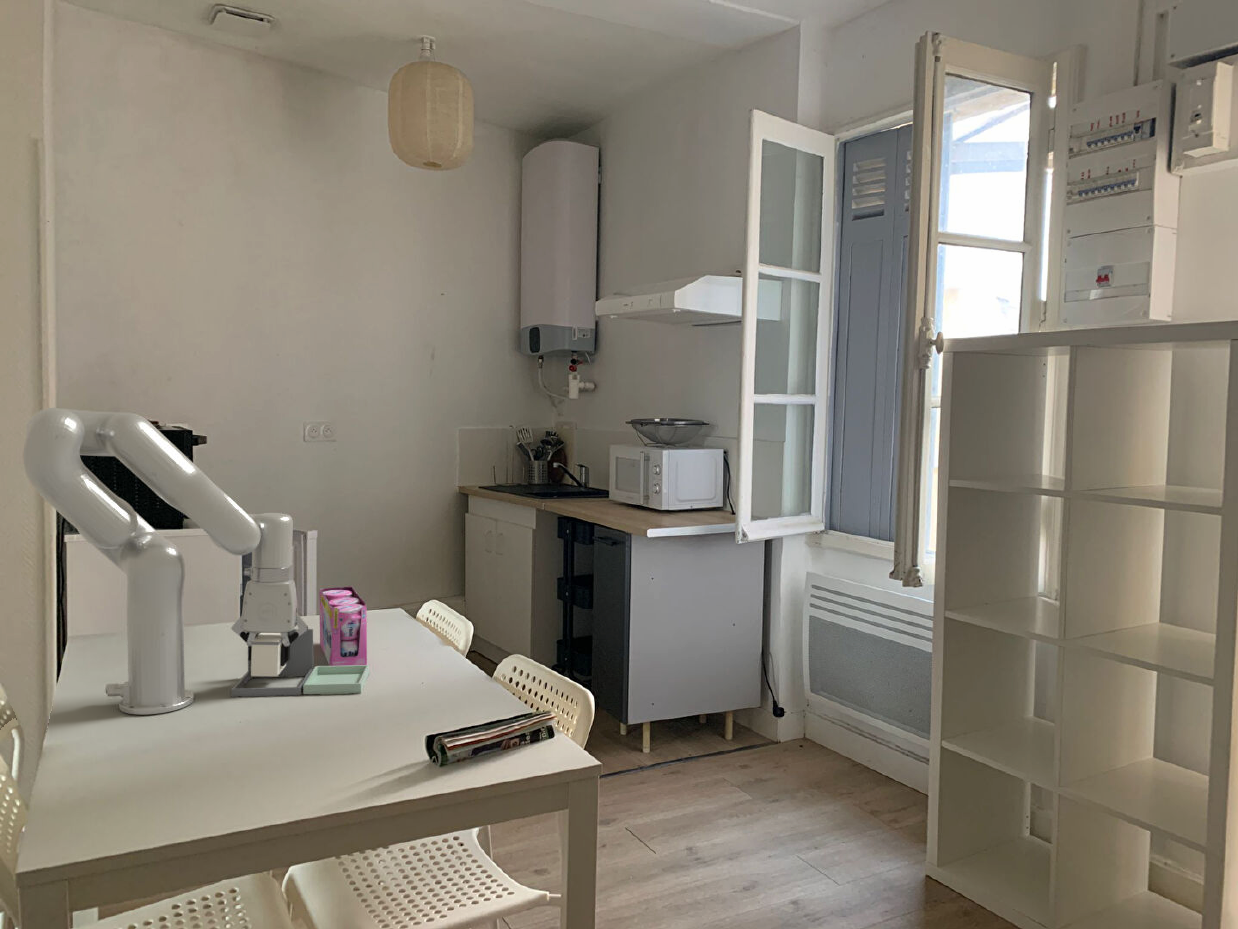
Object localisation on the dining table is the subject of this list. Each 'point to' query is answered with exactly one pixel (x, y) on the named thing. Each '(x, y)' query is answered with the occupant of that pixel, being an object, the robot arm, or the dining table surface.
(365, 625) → the gum box
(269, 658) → the cream upright block
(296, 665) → the holder
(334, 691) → the tray
